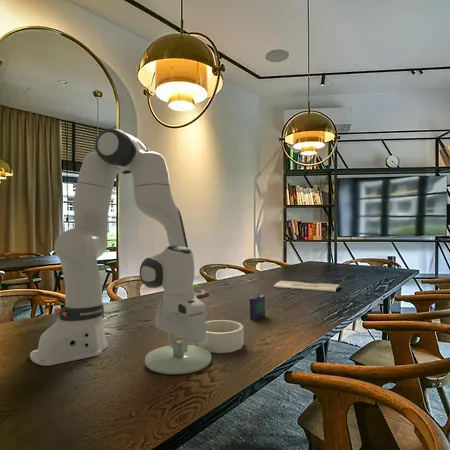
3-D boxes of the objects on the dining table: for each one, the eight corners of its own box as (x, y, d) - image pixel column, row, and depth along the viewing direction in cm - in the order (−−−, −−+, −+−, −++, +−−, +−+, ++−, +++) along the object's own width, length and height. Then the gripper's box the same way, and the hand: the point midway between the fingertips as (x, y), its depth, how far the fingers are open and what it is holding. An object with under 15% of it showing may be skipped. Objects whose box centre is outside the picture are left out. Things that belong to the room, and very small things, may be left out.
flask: (261, 315, 154) (261, 290, 154) (267, 316, 152) (267, 291, 152) (248, 319, 147) (248, 294, 147) (254, 320, 145) (253, 294, 145)
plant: (186, 301, 183) (186, 280, 183) (164, 296, 196) (163, 276, 196) (214, 295, 197) (214, 275, 197) (191, 291, 211) (191, 272, 211)
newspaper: (339, 288, 219) (339, 283, 219) (335, 293, 202) (335, 289, 202) (282, 284, 235) (282, 279, 235) (273, 289, 218) (273, 284, 218)
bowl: (219, 356, 106) (219, 336, 106) (188, 344, 117) (188, 326, 117) (252, 344, 117) (252, 326, 117) (220, 334, 128) (220, 317, 128)
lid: (171, 381, 89) (171, 360, 89) (132, 359, 103) (132, 342, 103) (224, 360, 102) (224, 342, 102) (184, 344, 116) (184, 328, 116)
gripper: (150, 298, 108) (149, 343, 108) (192, 310, 93) (191, 362, 93) (167, 295, 112) (167, 338, 112) (210, 306, 97) (209, 356, 97)
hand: (178, 349), depth 103 cm, fingers closed on lid, 3 cm apart
